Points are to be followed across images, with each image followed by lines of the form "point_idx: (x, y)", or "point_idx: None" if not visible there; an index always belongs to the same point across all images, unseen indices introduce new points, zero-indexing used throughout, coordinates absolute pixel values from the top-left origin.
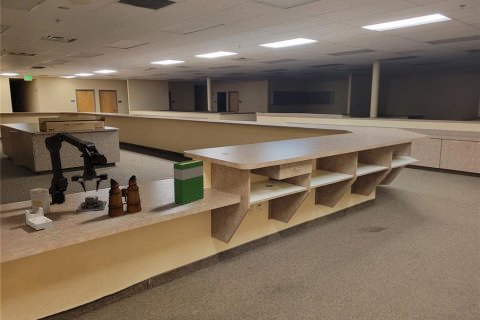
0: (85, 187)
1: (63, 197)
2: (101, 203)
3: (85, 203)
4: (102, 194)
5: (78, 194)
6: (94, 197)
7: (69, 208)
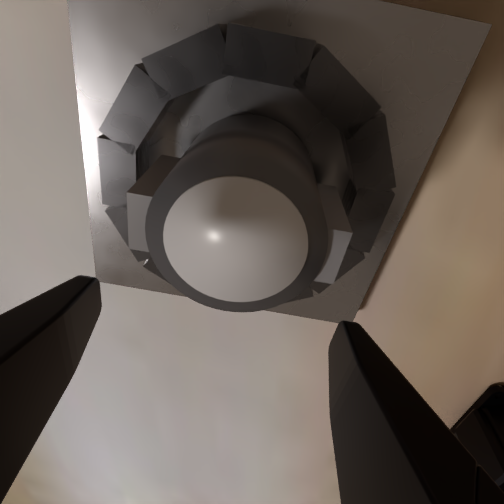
0: (356, 464)
1: (501, 449)
2: (105, 121)
3: (333, 190)
4: (176, 456)
5: (330, 498)
6: (179, 197)
7: (495, 232)
